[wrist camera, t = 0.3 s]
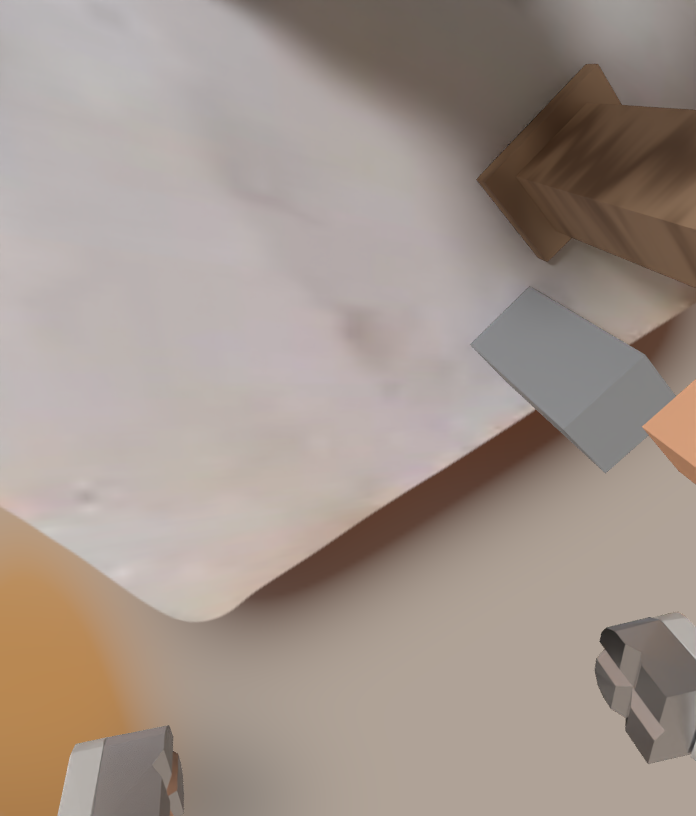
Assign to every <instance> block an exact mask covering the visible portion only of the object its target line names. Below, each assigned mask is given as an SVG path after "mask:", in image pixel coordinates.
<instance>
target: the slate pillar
mask: <svg viewBox="0 0 696 816" xmlns="http://www.w3.org/2000/svg"><path fill="white" fill-rule="evenodd" d="M471 346H472V347H473V348H474V349H475V350H476V351H477V352H478V353H479V354H480V355H481V356H482V357H483V358H484V359H485V360H486V361H487V362H488V363H489V364H490V366H491V367H492V368H493V369H494V370H495V371H496V372H497V373H498V374H499V375H500V376H501V377H502V378H503V379H504V380H505V381H506V382H507V383H508V384H509V385H510V386H511V387H512V388H514V389H515V390H516V391H517V392H518V393H519V394H520V395H521V396H522V397H523V398H524V399H525V400H527V401H528V402H529V403H530V404H531V405H532V406H533V407H534V408H535V409H536V410H537V411H539V412H540V413H541V414H542V415H543V416H544V417H545V418H546V419H547V420H548V421H549V422H550V423H552V424H553V425H554V426H555V427H556V428H557V429H558V430H559V431H560V432H561V433H562V434H563V435H565V436H566V437H567V438H568V439H569V440H570V441H571V442H572V443H573V444H574V445H575V446H576V447H577V448H579V449H580V450H581V451H582V452H583V453H584V454H585V455H586V456H587V457H588V458H589V459H591V460H592V461H593V462H594V463H595V464H596V465H597V466H598V467H599V468H600V469H601V470H603V472H605V473H606V472H608V471H609V470H610V469H611V468H612V467H613V466H614V465H616V464H617V463H618V462H619V461H620V460H621V459H622V458H623V457H624V456H626V455H627V454H628V453H629V452H630V451H631V450H633V449H634V448H635V447H636V446H637V445H638V444H639V443H640V442H642V441H643V440H644V439H645V438H646V437H647V436H648V434H647V432H646V431H645V430H644V429H643V428H642V426H643V425H644V424H646V423H647V422H648V421H649V420H650V419H651V418H652V417H653V416H655V415H656V414H657V413H658V412H659V411H660V410H661V409H663V408H664V407H665V406H666V405H667V404H668V403H669V402H670V401H672V400H673V399H674V398H675V397H676V395H675V394H674V393H673V391H672V390H671V389H670V387H669V386H668V385H667V384H666V382H665V381H664V379H663V378H662V377H661V375H660V374H659V373H658V372H657V370H656V369H655V367H654V366H653V365H652V363H651V362H650V361H649V360H648V358H647V357H646V355H645V354H643V353H641V352H639V351H638V350H636V349H634V348H633V347H631V346H629V345H628V344H626V343H624V342H623V341H621V340H619V339H618V338H616V337H614V336H613V335H611V334H609V333H607V332H606V331H604V330H602V329H601V328H599V327H597V326H596V325H594V324H592V323H591V322H589V321H587V320H586V319H584V318H582V317H581V316H579V315H577V314H575V313H574V312H572V311H570V310H569V309H567V308H565V307H564V306H562V305H560V304H559V303H557V302H555V301H554V300H552V299H550V298H548V297H547V296H545V295H543V294H542V293H540V292H538V291H537V290H535V289H533V288H532V287H529V288H528V289H527V290H525V291H524V292H523V293H522V294H521V295H520V296H519V297H518V298H517V299H516V300H515V301H514V302H513V303H512V304H511V305H510V306H509V307H508V308H507V309H506V310H505V311H504V312H503V313H502V314H501V315H500V316H499V317H498V318H497V319H496V320H495V321H494V322H493V323H492V324H491V325H490V326H489V327H488V328H487V329H486V330H485V331H484V332H483V333H482V334H481V335H480V336H479V337H478V338H477V339H476V340H475V341H474V342H473V343H472V344H471Z"/></svg>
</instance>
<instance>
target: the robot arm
mask: <svg viewBox="0 0 696 816" xmlns="http://www.w3.org/2000/svg"><path fill="white" fill-rule="evenodd" d="M600 643H601V644H602V646H603V647H604V650H603V651H602V652H601V653H600V654H599V656H598V657H597V658H596V664H595V675H596V679H597V684H598V687H599V689H600V691H601V693H602V695H603V698H604V699H605V701H606V702H607V704H608V705H609V707H610V708H611V709H612V710H613V711H615V712H617V713H618V714H620V715H622V716H623V717H625V718H626V723H625V726H626V727H625V730H626V732H627V734H628V735H629V737H630V738H631V740H632V741H633V742H634V744H635V746H636V747H637V749H638V750H639V752H640V753H641V754H642V756H643V757H644V759H645V760H646V762H647V763H648V764H650V763H655V762H659V761H664V760H667V759H672V758H676V757H681V756H685V755H689V754H691V758H693V759H694V760H695V761H696V627H695V626H694V625H693V624H692V622H691V621H690V620H689V619H688V618H687V617H686V616H685V615H683V614H681V613H679V612H674V613H669V614H665V615H661V616H657V617H653V618H651V617H648V618H645V619H640V620H636V621H632V622H627V623H623V624H619V625H615V626H611V627H607V628H605V629H604V630H603V631H602V633H601V637H600ZM183 814H184V785H183V773H182V768H181V762H180V758H179V755H178V753H176V752H174V751H173V735H172V732H171V729H170V726H169V725H168V726H163V727H158V728H153V729H148V730H143V731H138V732H133V733H128V734H122V735H117V736H112V737H107V738H102V739H97V740H93V741H88V742H84V743H79V744H76V745H75V747H74V749H73V751H72V753H71V755H70V759H69V764H68V769H67V773H66V778H65V783H64V788H63V793H62V797H61V803H60V807H59V812H58V816H182V815H183Z"/></svg>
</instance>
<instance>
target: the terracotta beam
mask: <svg viewBox="0 0 696 816" xmlns="http://www.w3.org/2000/svg"><path fill="white" fill-rule="evenodd" d="M642 428H643V429H644V430H645V431H646V432H647V434H648V435H649V436H650V437H651V438H652V439H653V441H654V442H655V443H656V444H657V445H658V447H659V448H660V449H661V450H662V451H663V453H664V454H665V455H666V456H667V458H668V459H669V460H670V461H671V462H672V463H673V465H674V466H675V467H676V468H677V469H678V471H679V472H681V473H682V474H683V475H684V476H686V477H687V478H688V479H690V480H691V481H692V482H693V483H695V484H696V379H695V380H694V381H693V382H692V383H691V384H690V385H689V386H687V387H686V388H685V389H684V390H683V391H682V392H681V393H679V394H678V395H677V396H676V397H675V398H674V399H673V400H672V401H670V402H669V403H668V404H667V405H666V406H665V407H664V408H663V409H661V410H660V411H659V412H658V413H657V414H656V415H655V416H653V417H652V418H651V419H650V420H649V421H648V422H647V423H646V424H644V425H643V426H642Z"/></svg>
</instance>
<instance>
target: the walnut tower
mask: <svg viewBox="0 0 696 816" xmlns="http://www.w3.org/2000/svg"><path fill="white" fill-rule="evenodd" d="M476 180H477V181H478V182H479V183H480V185H481V186H482V187H483V189H484V190H485V191H486V192H487V194H488V195H489V196H490V197H491V199H492V200H493V201H494V202H495V204H496V205H497V206H498V208H499V209H500V210H501V211H502V213H503V214H504V215H505V216H506V218H507V219H508V220H509V221H510V223H511V224H512V225H513V227H514V228H515V229H516V230H517V232H518V233H519V234H520V235H521V237H522V238H523V239H524V240H525V242H526V243H527V244H528V245H529V247H530V248H531V249H532V251H533V252H534V253H535V254H536V256H537V257H538V258H540V259H542V260H544V261H546V262H548V261H549V260H550V259H551V258H552V257H553V256H554V255H555V254H556V253H557V252H558V251H559V250H560V249H561V248H562V247H563V246H564V245H565V244H566V243H567V242H568V241H569V240H570V239H571V238H574V239H577V240H579V241H582V242H584V243H587V244H589V245H591V246H594V247H596V248H599V249H601V250H604V251H606V252H609V253H611V254H614V255H616V256H618V257H621V258H623V259H626V260H628V261H631V262H633V263H636V264H638V265H641V266H643V267H645V268H648V269H650V270H653V271H655V272H658V273H660V274H663V275H665V276H668V277H670V278H672V279H675V280H677V281H680V282H682V283H685V284H687V285H690V286H692V287H695V288H696V110H689V109H673V108H658V107H643V106H628V105H622V104H621V103H620V101H619V99H618V98H617V96H616V94H615V92H614V91H613V89H612V87H611V85H610V84H609V82H608V80H607V79H606V77H605V75H604V73H603V72H602V70H601V68H600V66H599V65H598V64H586V65H585V66H584V67H583V68H582V69H581V70H580V71H579V72H578V73H577V74H576V75H575V76H574V77H573V78H572V79H571V80H570V81H569V83H568V84H567V85H566V86H565V87H564V88H563V89H562V90H561V91H560V92H559V93H558V94H557V95H556V96H555V97H554V98H553V99H552V100H551V101H550V103H549V104H548V105H547V106H546V107H545V108H544V109H543V110H542V111H541V112H540V113H539V114H538V115H537V116H536V117H535V118H534V119H533V120H532V121H531V122H530V124H529V125H528V126H527V127H526V128H525V129H524V130H523V131H522V132H521V133H520V134H519V135H518V136H517V137H516V138H515V139H514V140H513V141H512V142H511V144H510V145H509V146H508V147H507V148H506V149H505V150H504V151H503V152H502V153H501V154H500V155H499V156H498V157H497V158H496V159H495V160H494V161H493V162H492V163H491V165H490V166H489V167H488V168H487V169H486V170H485V171H484V172H483V173H482V174H481V175H480V176H479V177H478V178H477V179H476Z"/></svg>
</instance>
